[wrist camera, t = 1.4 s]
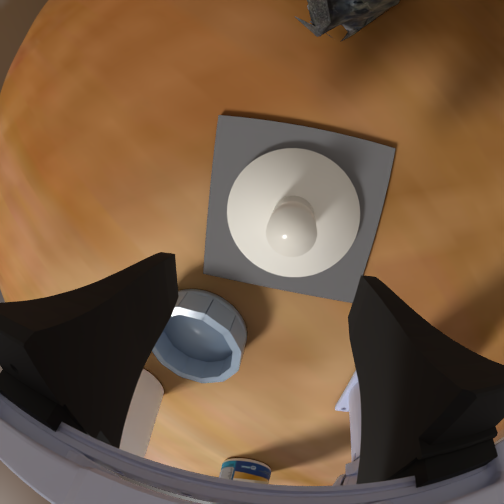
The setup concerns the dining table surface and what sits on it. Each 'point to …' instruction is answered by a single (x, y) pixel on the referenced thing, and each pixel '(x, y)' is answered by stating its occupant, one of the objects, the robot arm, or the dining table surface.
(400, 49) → the dining table surface
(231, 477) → the beverage bottle
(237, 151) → the mat
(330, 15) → the foil
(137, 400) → the cup
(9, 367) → the robot arm
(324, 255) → the lid
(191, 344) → the bowl
